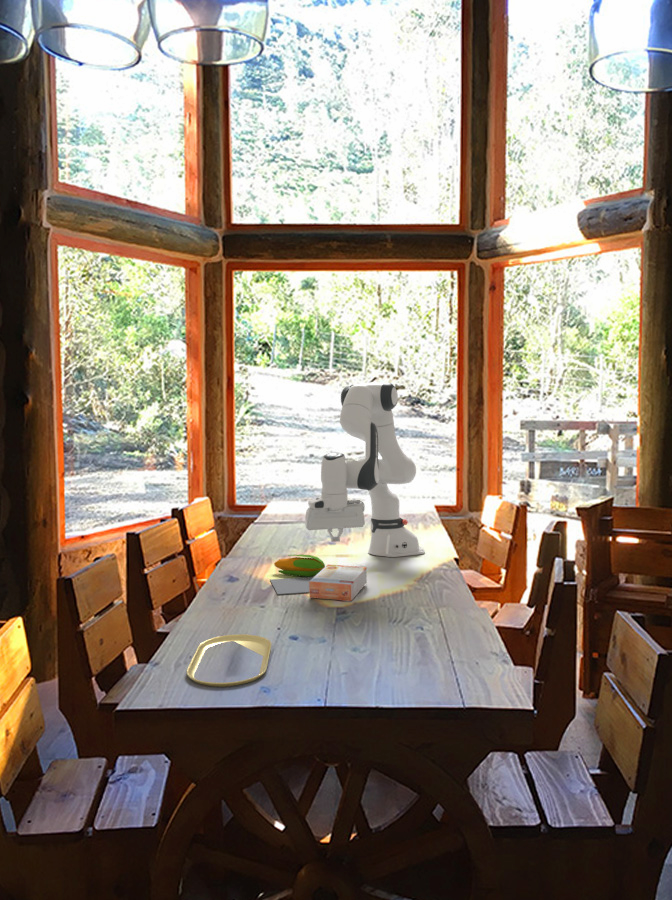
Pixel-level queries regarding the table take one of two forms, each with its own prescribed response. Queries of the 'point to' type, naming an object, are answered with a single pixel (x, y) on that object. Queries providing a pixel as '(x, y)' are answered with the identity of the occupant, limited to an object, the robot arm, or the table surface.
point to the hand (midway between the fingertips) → (335, 541)
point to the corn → (300, 566)
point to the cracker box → (338, 582)
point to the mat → (291, 585)
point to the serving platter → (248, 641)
